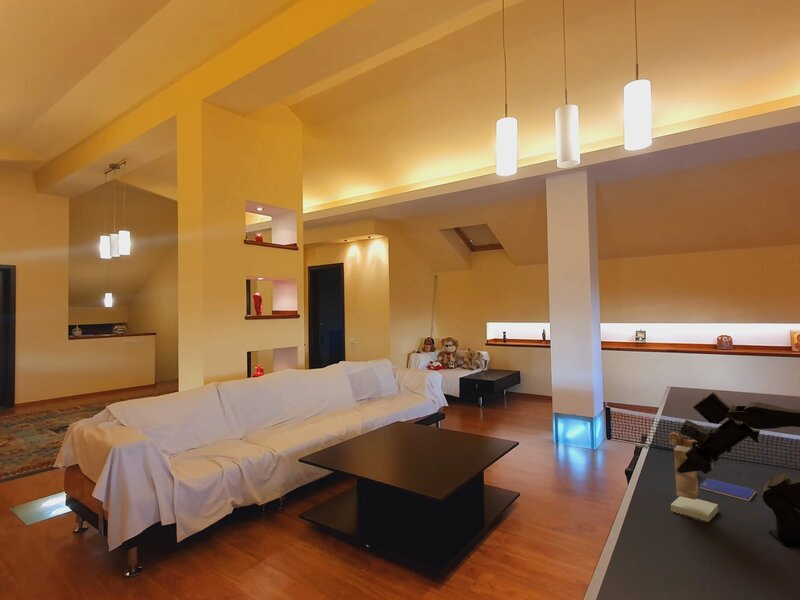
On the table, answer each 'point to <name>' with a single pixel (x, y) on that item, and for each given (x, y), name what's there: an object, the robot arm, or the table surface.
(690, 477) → the maple post
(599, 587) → the table surface
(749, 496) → the hard drive
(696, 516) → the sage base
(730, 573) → the table surface
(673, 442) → the lion figurine
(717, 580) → the table surface
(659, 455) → the table surface
